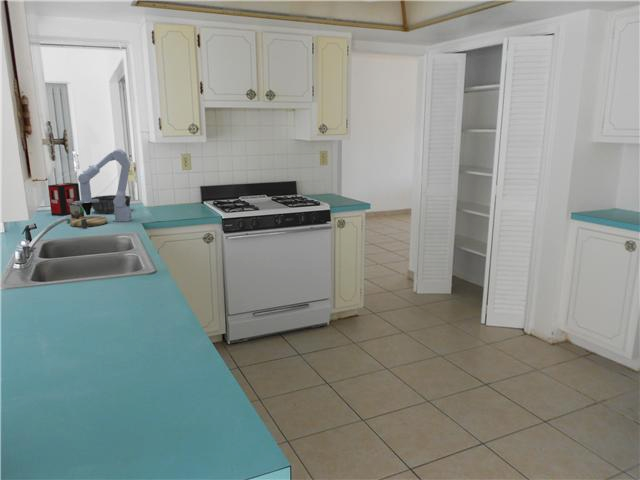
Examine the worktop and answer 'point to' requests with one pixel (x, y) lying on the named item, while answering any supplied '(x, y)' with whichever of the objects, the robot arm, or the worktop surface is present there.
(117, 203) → the robot arm
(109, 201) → the bundt pan
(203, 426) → the worktop surface
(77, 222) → the turntable
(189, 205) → the worktop surface
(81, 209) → the food container
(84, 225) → the pointer post
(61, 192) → the cleaning product box
